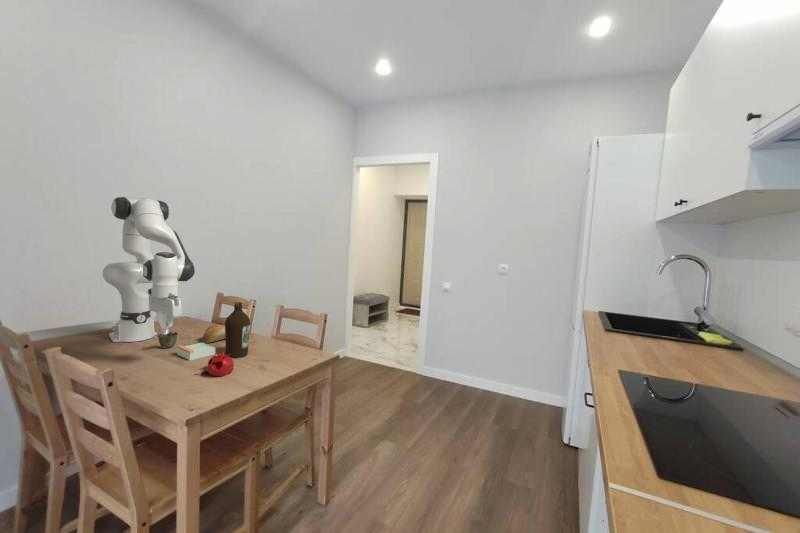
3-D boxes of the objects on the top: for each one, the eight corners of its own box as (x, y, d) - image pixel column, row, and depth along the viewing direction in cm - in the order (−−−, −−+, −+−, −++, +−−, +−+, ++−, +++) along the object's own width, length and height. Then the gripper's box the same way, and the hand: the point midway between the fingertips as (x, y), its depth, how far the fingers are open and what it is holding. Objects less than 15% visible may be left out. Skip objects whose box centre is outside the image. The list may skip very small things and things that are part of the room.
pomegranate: (224, 367, 144) (225, 345, 143) (239, 372, 139) (240, 350, 138) (201, 373, 135) (201, 351, 135) (215, 380, 130) (216, 356, 130)
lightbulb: (154, 337, 136) (154, 310, 135) (157, 333, 141) (157, 307, 141) (173, 336, 139) (173, 309, 138) (175, 332, 144) (175, 306, 144)
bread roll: (197, 342, 172) (197, 327, 171) (223, 335, 186) (223, 321, 185) (209, 345, 168) (210, 330, 167) (235, 338, 182) (236, 324, 181)
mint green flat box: (177, 354, 150) (177, 345, 150) (202, 348, 159) (202, 340, 159) (189, 360, 144) (190, 351, 144) (215, 354, 154) (215, 345, 153)
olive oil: (219, 358, 153) (221, 304, 151) (230, 350, 163) (232, 299, 161) (243, 359, 153) (245, 305, 151) (252, 351, 164) (254, 301, 162)
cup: (181, 348, 162) (181, 332, 161) (169, 353, 154) (169, 336, 154) (166, 346, 162) (166, 330, 162) (154, 351, 155) (154, 334, 154)
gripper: (186, 294, 136) (186, 328, 137) (162, 288, 147) (162, 319, 148) (169, 296, 131) (168, 331, 132) (145, 289, 141) (145, 321, 142)
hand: (165, 324), depth 140 cm, fingers closed on lightbulb, 5 cm apart
